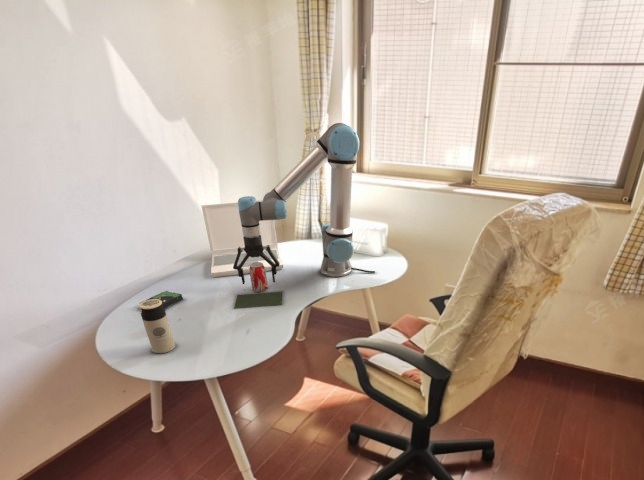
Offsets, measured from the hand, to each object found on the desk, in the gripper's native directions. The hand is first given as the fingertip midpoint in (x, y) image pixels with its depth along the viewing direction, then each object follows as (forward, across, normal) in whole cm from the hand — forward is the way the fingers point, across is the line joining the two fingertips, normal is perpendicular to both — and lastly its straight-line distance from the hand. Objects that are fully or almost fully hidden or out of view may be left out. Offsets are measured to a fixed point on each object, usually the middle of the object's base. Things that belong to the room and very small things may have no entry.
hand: (259, 282), depth 208 cm
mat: (+4, 0, -11) cm, 12 cm away
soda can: (+4, 0, 0) cm, 4 cm away
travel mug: (+4, -32, -48) cm, 58 cm away
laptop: (+4, -9, +34) cm, 35 cm away
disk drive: (+4, -42, -8) cm, 43 cm away
